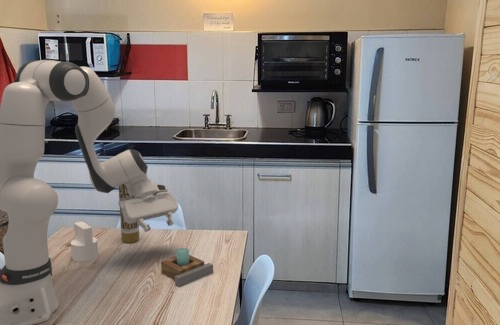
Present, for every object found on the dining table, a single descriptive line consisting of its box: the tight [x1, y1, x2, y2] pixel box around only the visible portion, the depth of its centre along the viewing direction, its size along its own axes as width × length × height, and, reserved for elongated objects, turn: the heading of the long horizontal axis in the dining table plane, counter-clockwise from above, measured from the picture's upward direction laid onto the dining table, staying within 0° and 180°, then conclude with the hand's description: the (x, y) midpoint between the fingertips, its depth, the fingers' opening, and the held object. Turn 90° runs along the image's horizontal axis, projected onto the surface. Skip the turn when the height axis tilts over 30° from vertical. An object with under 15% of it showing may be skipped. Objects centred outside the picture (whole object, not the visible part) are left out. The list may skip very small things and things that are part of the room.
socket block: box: [160, 254, 205, 281], centre depth 153 cm, size 10×10×4 cm
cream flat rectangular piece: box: [174, 262, 214, 288], centre depth 156 cm, size 14×20×4 cm
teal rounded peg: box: [175, 247, 190, 267], centre depth 153 cm, size 4×4×8 cm
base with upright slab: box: [70, 221, 99, 263], centre depth 168 cm, size 9×9×12 cm
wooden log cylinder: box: [118, 184, 140, 244], centre depth 182 cm, size 7×7×25 cm
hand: (159, 227), depth 158 cm, fingers open, 8 cm apart
